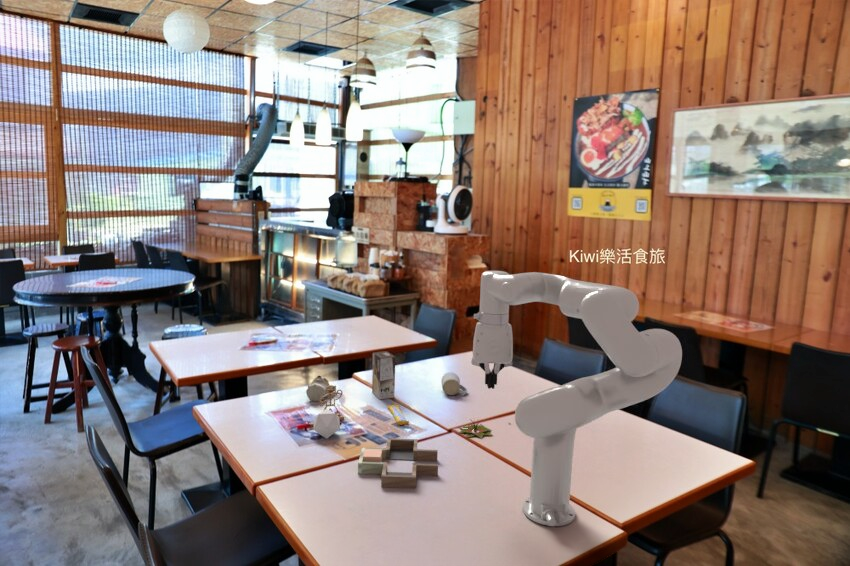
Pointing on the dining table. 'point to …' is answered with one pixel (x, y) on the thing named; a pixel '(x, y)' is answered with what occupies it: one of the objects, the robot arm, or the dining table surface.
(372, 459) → the block
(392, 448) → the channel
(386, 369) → the coffee box
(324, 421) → the die
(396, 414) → the candy bar
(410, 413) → the dining table surface
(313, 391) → the ceramic sculpture
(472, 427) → the lily flower
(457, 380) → the ceramic mug
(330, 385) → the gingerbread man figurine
